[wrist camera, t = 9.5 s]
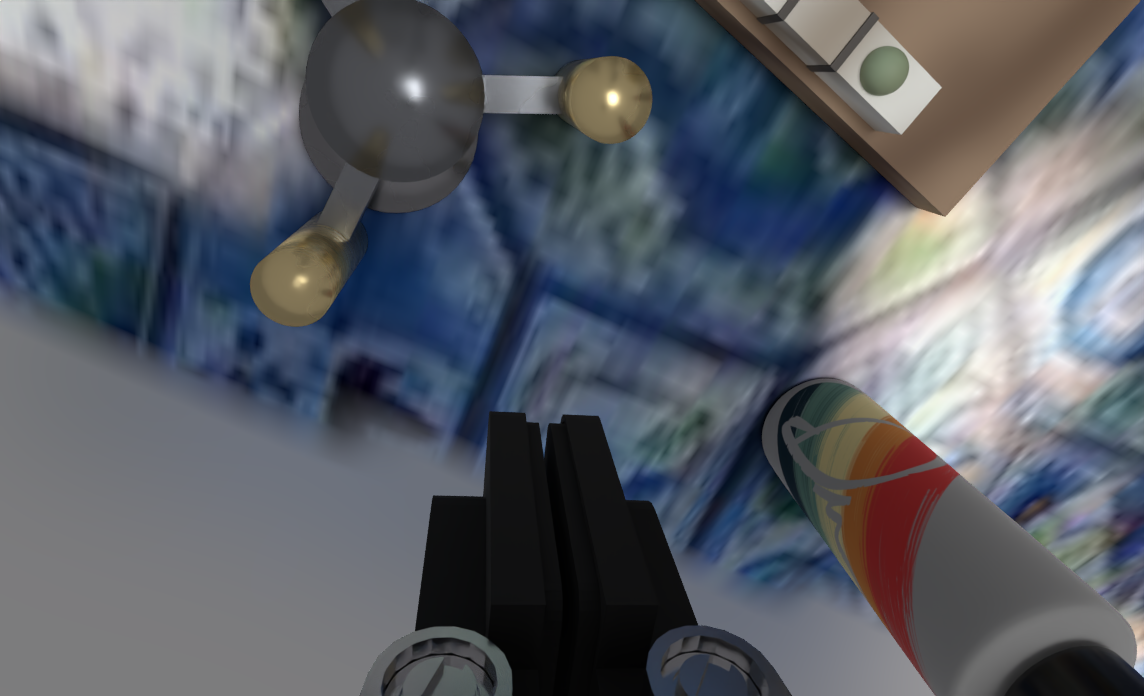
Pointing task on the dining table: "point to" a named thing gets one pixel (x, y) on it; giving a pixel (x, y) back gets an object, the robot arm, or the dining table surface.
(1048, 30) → the level board
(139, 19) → the dining table surface
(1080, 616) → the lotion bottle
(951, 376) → the dining table surface
